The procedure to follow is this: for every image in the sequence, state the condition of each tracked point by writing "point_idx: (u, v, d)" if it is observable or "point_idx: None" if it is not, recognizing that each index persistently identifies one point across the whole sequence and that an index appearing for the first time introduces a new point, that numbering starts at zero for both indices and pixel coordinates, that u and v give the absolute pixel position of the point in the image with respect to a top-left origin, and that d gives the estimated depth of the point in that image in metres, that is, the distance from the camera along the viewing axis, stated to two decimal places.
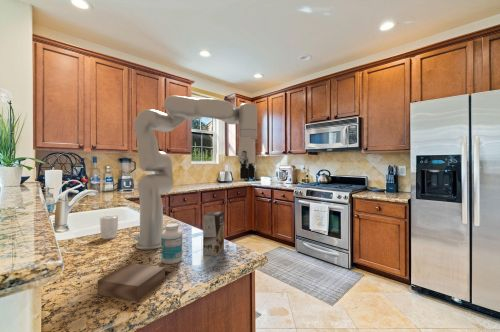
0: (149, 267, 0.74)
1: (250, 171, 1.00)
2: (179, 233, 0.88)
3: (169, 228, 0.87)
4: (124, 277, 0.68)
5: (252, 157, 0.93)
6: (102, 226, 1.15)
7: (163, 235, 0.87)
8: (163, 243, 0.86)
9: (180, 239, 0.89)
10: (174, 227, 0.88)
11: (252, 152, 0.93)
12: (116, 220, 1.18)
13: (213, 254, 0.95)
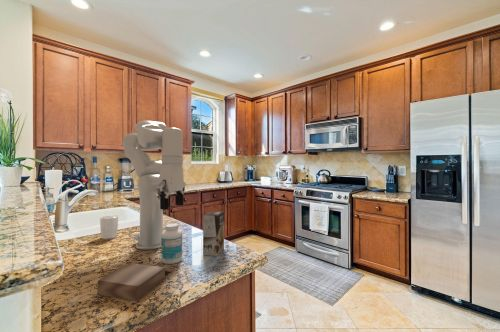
0: (149, 267, 0.74)
1: (178, 198, 0.94)
2: (179, 233, 0.88)
3: (169, 228, 0.87)
4: (124, 277, 0.68)
5: (175, 185, 0.87)
6: (102, 226, 1.15)
7: (163, 235, 0.87)
8: (163, 243, 0.86)
9: (180, 239, 0.89)
10: (174, 227, 0.88)
11: (175, 180, 0.87)
12: (116, 220, 1.18)
13: (213, 254, 0.95)
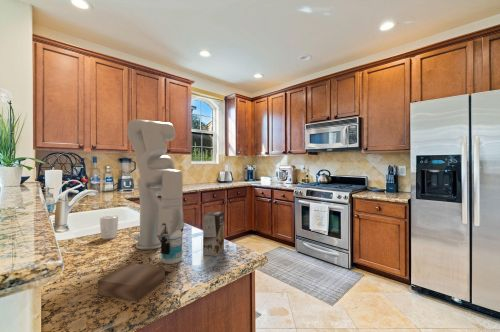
0: (149, 267, 0.74)
1: None
2: (179, 233, 0.88)
3: None
4: (124, 277, 0.68)
5: (175, 227, 0.88)
6: (102, 226, 1.15)
7: None
8: None
9: (180, 239, 0.89)
10: None
11: (174, 223, 0.87)
12: (116, 220, 1.18)
13: (213, 254, 0.95)
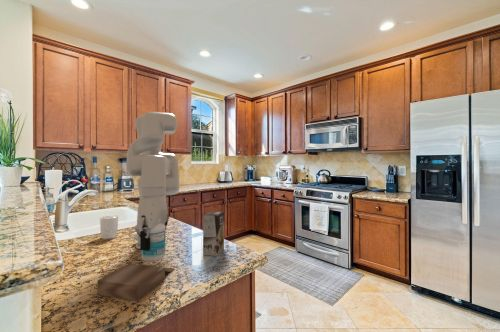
0: (149, 267, 0.74)
1: None
2: (162, 227, 0.78)
3: None
4: (124, 277, 0.68)
5: (157, 220, 0.77)
6: (102, 226, 1.15)
7: None
8: None
9: (163, 234, 0.78)
10: None
11: (156, 215, 0.77)
12: (116, 220, 1.18)
13: (213, 254, 0.95)
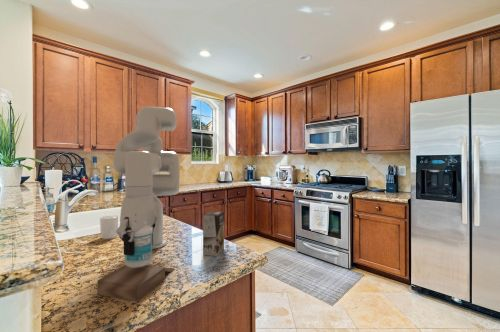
0: (149, 267, 0.74)
1: None
2: (148, 229, 0.71)
3: None
4: (124, 277, 0.68)
5: (142, 222, 0.70)
6: (102, 226, 1.15)
7: None
8: None
9: (149, 237, 0.71)
10: None
11: (141, 216, 0.70)
12: (116, 220, 1.18)
13: (213, 254, 0.95)
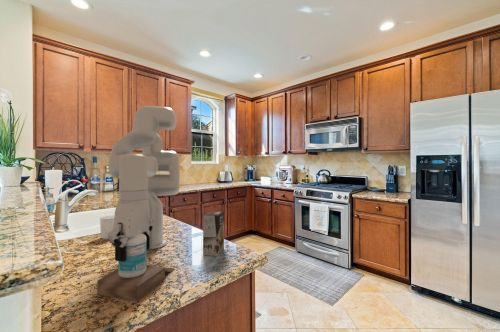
0: (149, 267, 0.74)
1: None
2: (142, 238, 0.69)
3: None
4: None
5: (136, 228, 0.68)
6: (102, 226, 1.15)
7: None
8: None
9: (143, 246, 0.69)
10: None
11: (135, 222, 0.68)
12: None
13: (213, 254, 0.95)
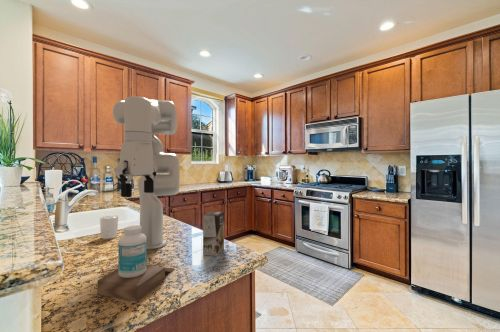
0: (149, 267, 0.74)
1: (147, 185, 0.78)
2: (141, 238, 0.69)
3: (128, 232, 0.68)
4: None
5: (141, 168, 0.71)
6: (102, 226, 1.15)
7: (120, 241, 0.67)
8: (120, 251, 0.67)
9: (143, 246, 0.69)
10: (135, 230, 0.68)
11: (140, 162, 0.71)
12: (116, 220, 1.18)
13: (213, 254, 0.95)
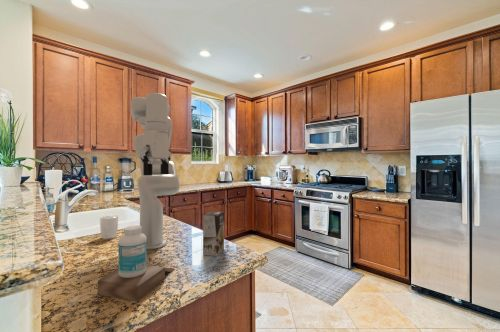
0: (149, 267, 0.74)
1: (163, 167, 0.92)
2: (142, 238, 0.69)
3: (128, 232, 0.68)
4: None
5: (159, 152, 0.86)
6: (102, 226, 1.15)
7: (120, 241, 0.67)
8: (120, 251, 0.67)
9: (143, 246, 0.69)
10: (135, 230, 0.68)
11: (159, 146, 0.85)
12: (116, 220, 1.18)
13: (213, 254, 0.95)
